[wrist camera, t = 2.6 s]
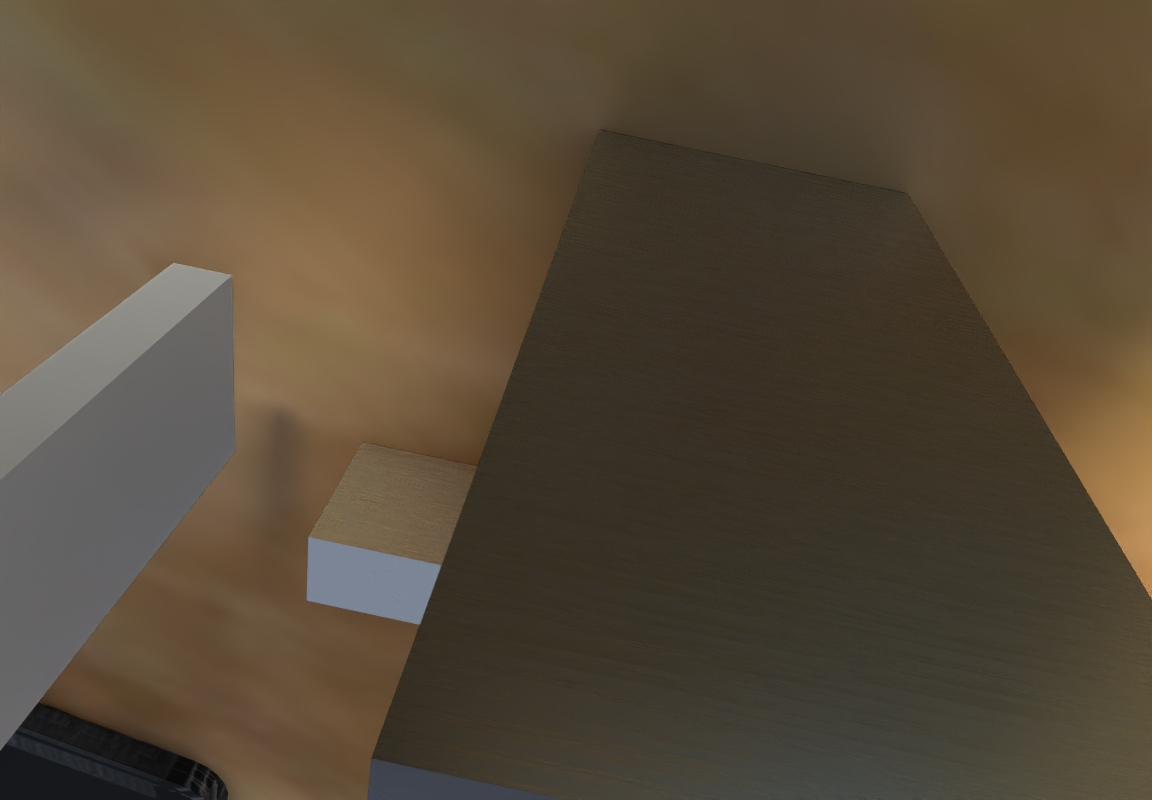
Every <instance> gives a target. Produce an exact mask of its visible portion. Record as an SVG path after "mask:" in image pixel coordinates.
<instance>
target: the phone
mask: <svg viewBox="0 0 1152 800" xmlns="http://www.w3.org/2000/svg"><path fill="white" fill-rule="evenodd" d="M227 797H228V792H227V789H226V786H225V784H224V783H223V781H222V780H221V779H220V778H219V776H218V775H217V774H215V773H214V772H213V771H211V770H210V769H209V768H207V767H205V766H203V765H201V764H199V763H197V762H195V761H193V760H190V759H187V758H185V757H182V756H179V755H176V754H174V753H171V752H168V751H166V750H163V749H160V748H158V747H155V746H152V745H150V744H147V743H144V742H141V741H139V740H136V739H133V738H131V737H128V736H125V735H123V734H120V733H117V732H114V731H112V730H109V729H106V728H104V727H101V726H98V725H96V724H93V723H90V722H88V721H85V720H82V719H79V718H77V717H74V716H71V715H69V714H66V713H63V712H61V711H58V710H55V709H53V708H50V707H47V706H44V705H42V704H39V703H37V705H36V706H35V707H34V708H33V710H32V711H31V712H30V713H29V715H28V716H27V717H26V719H25V720H24V721H23V722H22V724H21V725H20V726H19V727H18V729H17V730H16V731H15V733H14V734H13V735H12V736H11V738H10V739H9V740H8V741H7V743H6V744H5V745H4V747H3V748H2V749H1V750H0V800H227Z"/></svg>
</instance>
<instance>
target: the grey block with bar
mask: <svg viewBox="0 0 1152 800" xmlns="http://www.w3.org/2000/svg"><path fill="white" fill-rule="evenodd" d="M307 601H311V602H316V603H320V604H325V605H330V606H334V607H339V608H344V609H348V610H353V611H358V612H362V613H367V614H372V615H376V616H381V617H386V618H391V619H395V620H400V621H405V622H409V623H414V624H419V625H420V626H419V629H418V631H417V634H416V637H415V640H414V642H413V645H412V648H411V651H410V653H409V656H408V659H407V662H406V664H405V667H404V670H403V673H402V675H401V678H400V681H399V684H398V686H397V689H396V692H395V695H394V697H393V700H392V703H391V706H390V708H389V711H388V714H387V717H386V719H385V722H384V725H383V728H382V730H381V733H380V736H379V739H378V741H377V744H376V747H375V750H374V752H373V755H372V758H371V767H370V778H369V789H368V800H1152V599H1151V597H1150V596H1149V594H1148V592H1147V591H1146V589H1145V587H1144V586H1143V584H1142V582H1141V581H1140V579H1139V577H1138V576H1137V574H1136V572H1135V571H1134V569H1133V568H1132V566H1131V564H1130V563H1129V561H1128V559H1127V558H1126V556H1125V554H1124V553H1123V551H1122V549H1121V548H1120V546H1119V544H1118V543H1117V541H1116V539H1115V538H1114V536H1113V534H1112V533H1111V531H1110V529H1109V528H1108V526H1107V524H1106V523H1105V521H1104V519H1103V518H1102V516H1101V514H1100V513H1099V511H1098V509H1097V508H1096V506H1095V504H1094V503H1093V501H1092V499H1091V498H1090V496H1089V494H1088V493H1087V491H1086V489H1085V488H1084V486H1083V484H1082V483H1081V481H1080V479H1079V478H1078V476H1077V474H1076V473H1075V471H1074V469H1073V468H1072V466H1071V464H1070V463H1069V461H1068V459H1067V458H1066V456H1065V454H1064V453H1063V451H1062V449H1061V448H1060V446H1059V444H1058V443H1057V441H1056V440H1055V438H1054V436H1053V435H1052V433H1051V431H1050V430H1049V428H1048V426H1047V425H1046V423H1045V421H1044V420H1043V418H1042V416H1041V415H1040V413H1039V411H1038V410H1037V408H1036V406H1035V405H1034V403H1033V401H1032V400H1031V398H1030V396H1029V395H1028V393H1027V391H1026V390H1025V388H1024V386H1023V385H1022V383H1021V381H1020V380H1019V378H1018V376H1017V375H1016V373H1015V371H1014V370H1013V368H1012V366H1011V365H1010V363H1009V361H1008V360H1007V358H1006V356H1005V355H1004V353H1003V351H1002V350H1001V348H1000V346H999V345H998V343H997V341H996V340H995V338H994V336H993V335H992V333H991V331H990V330H989V328H988V326H987V325H986V323H985V321H984V320H983V318H982V317H981V315H980V313H979V312H978V310H977V308H976V307H975V305H974V303H973V302H972V300H971V298H970V297H969V295H968V293H967V292H966V290H965V288H964V287H963V285H962V283H961V282H960V280H959V278H958V277H957V275H956V273H955V272H954V270H953V268H952V267H951V265H950V263H949V262H948V260H947V258H946V257H945V255H944V253H943V252H942V250H941V248H940V247H939V245H938V243H937V242H936V240H935V238H934V237H933V235H932V233H931V232H930V230H929V228H928V227H927V225H926V223H925V222H924V220H923V218H922V217H921V215H920V213H919V212H918V210H917V208H916V207H915V205H914V203H913V202H912V200H911V198H910V197H909V195H908V194H907V193H902V192H897V191H892V190H887V189H883V188H878V187H873V186H868V185H863V184H859V183H854V182H849V181H844V180H839V179H834V178H830V177H825V176H820V175H815V174H810V173H805V172H801V171H796V170H791V169H786V168H781V167H777V166H772V165H767V164H762V163H757V162H752V161H748V160H743V159H738V158H733V157H728V156H724V155H719V154H714V153H709V152H704V151H699V150H695V149H690V148H685V147H680V146H675V145H670V144H666V143H661V142H656V141H651V140H646V139H642V138H637V137H632V136H627V135H622V134H617V133H613V132H608V131H603V130H600V131H599V133H598V136H597V139H596V142H595V144H594V147H593V150H592V153H591V155H590V158H589V161H588V164H587V166H586V169H585V172H584V175H583V177H582V180H581V183H580V186H579V188H578V191H577V194H576V197H575V199H574V202H573V205H572V208H571V210H570V213H569V216H568V219H567V221H566V224H565V227H564V230H563V232H562V235H561V238H560V241H559V243H558V246H557V249H556V252H555V254H554V257H553V260H552V263H551V265H550V268H549V271H548V274H547V276H546V279H545V282H544V285H543V287H542V290H541V293H540V296H539V298H538V301H537V304H536V307H535V309H534V312H533V315H532V318H531V321H530V323H529V326H528V329H527V332H526V334H525V337H524V340H523V343H522V345H521V348H520V351H519V354H518V356H517V359H516V362H515V365H514V367H513V370H512V373H511V376H510V378H509V381H508V384H507V387H506V389H505V392H504V395H503V398H502V400H501V403H500V406H499V409H498V411H497V414H496V417H495V420H494V422H493V425H492V428H491V431H490V433H489V436H488V439H487V442H486V444H485V447H484V450H483V453H482V455H481V458H480V461H479V464H478V466H475V465H470V464H465V463H461V462H456V461H451V460H446V459H442V458H437V457H432V456H428V455H423V454H418V453H413V452H409V451H404V450H399V449H394V448H390V447H385V446H380V445H376V444H371V443H366V442H363V443H362V444H361V446H360V448H359V450H358V451H357V453H356V455H355V457H354V458H353V460H352V462H351V464H350V465H349V467H348V469H347V471H346V472H345V474H344V476H343V478H342V479H341V481H340V483H339V485H338V486H337V488H336V490H335V491H334V493H333V495H332V497H331V498H330V500H329V502H328V504H327V505H326V507H325V509H324V511H323V512H322V514H321V516H320V518H319V519H318V521H317V523H316V525H315V526H314V528H313V530H312V532H311V533H310V535H309V537H308V569H307Z"/></svg>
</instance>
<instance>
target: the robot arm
mask: <svg viewBox="0 0 1152 800" xmlns="http://www.w3.org/2000/svg"><path fill="white" fill-rule="evenodd" d="M234 452H235V420H234V361H233V303H232V275H230V274H225V273H220V272H215V271H210V270H206V269H201V268H196V267H191V266H186V265H182V264H177V263H172V264H171V265H170V266H168V267H167V268H166V269H165V270H163V271H162V272H161V273H159V274H158V275H157V276H155V277H154V278H153V279H151V280H150V281H149V282H147V283H146V284H145V285H143V286H142V287H141V288H140V289H138V290H137V291H136V292H134V293H133V294H132V295H130V296H129V297H128V298H126V299H125V300H124V301H122V302H121V303H120V304H119V305H117V306H116V307H115V308H113V309H112V310H111V311H109V312H108V313H107V314H105V315H104V316H103V317H101V318H100V319H99V320H97V321H96V322H95V323H94V324H92V325H91V326H90V327H88V328H87V329H86V330H84V331H83V332H82V333H80V334H79V335H78V336H76V337H75V338H74V339H73V340H71V341H70V342H69V343H67V344H66V345H65V346H63V347H62V348H61V349H59V350H58V351H57V352H55V353H54V354H53V355H51V356H50V357H49V358H48V359H46V360H45V361H44V362H42V363H41V364H40V365H38V366H37V367H36V368H34V369H33V370H32V371H30V372H29V373H28V374H27V375H25V376H24V377H23V378H21V379H20V380H19V381H17V382H16V383H15V384H13V385H12V386H11V387H9V388H8V389H7V390H5V391H4V392H3V393H2V394H0V750H1V749H2V748H3V747H4V745H5V744H6V743H7V741H8V740H9V739H10V738H11V736H12V735H13V734H14V733H15V731H16V730H17V729H18V727H19V726H20V725H21V724H22V722H23V721H24V720H25V719H26V717H27V716H28V715H29V713H30V712H31V711H32V710H33V708H34V707H35V706H36V705H37V703H38V702H39V701H40V699H41V698H42V697H43V696H44V694H45V693H46V692H47V691H48V689H49V688H50V687H51V685H52V684H53V683H54V682H55V680H56V679H57V678H58V677H59V675H60V674H61V673H62V671H63V670H64V669H65V668H66V666H67V665H68V664H69V663H70V661H71V660H72V659H73V657H74V656H75V655H76V654H77V652H78V651H79V650H80V649H81V647H82V646H83V645H84V643H85V642H86V641H87V640H88V638H89V637H90V636H91V635H92V633H93V632H94V631H95V629H96V628H97V627H98V626H99V624H100V623H101V622H102V620H103V619H104V618H105V617H106V615H107V614H108V613H109V612H110V610H111V609H112V608H113V606H114V605H115V604H116V603H117V601H118V600H119V599H120V598H121V596H122V595H123V594H124V592H125V591H126V590H127V589H128V587H129V586H130V585H131V584H132V582H133V581H134V580H135V578H136V577H137V576H138V575H139V573H140V572H141V571H142V570H143V568H144V567H145V566H146V564H147V563H148V562H149V561H150V559H151V558H152V557H153V556H154V554H155V553H156V552H157V550H158V549H159V548H160V547H161V545H162V544H163V543H164V542H165V540H166V539H167V538H168V536H169V535H170V534H171V533H172V531H173V530H174V529H175V528H176V526H177V525H178V524H179V522H180V521H181V520H182V519H183V517H184V516H185V515H186V513H187V512H188V511H189V510H190V508H191V507H192V506H193V505H194V503H195V502H196V501H197V499H198V498H199V497H200V496H201V494H202V493H203V492H204V491H205V489H206V488H207V487H208V485H209V484H210V483H211V482H212V480H213V479H214V478H215V477H216V475H217V474H218V473H219V471H220V470H221V469H222V468H223V466H224V465H225V464H226V463H227V461H228V460H229V459H230V457H231V456H232V455H233V454H234Z"/></svg>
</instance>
